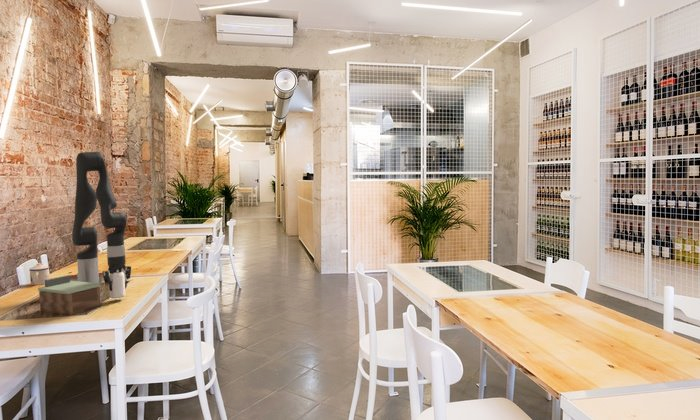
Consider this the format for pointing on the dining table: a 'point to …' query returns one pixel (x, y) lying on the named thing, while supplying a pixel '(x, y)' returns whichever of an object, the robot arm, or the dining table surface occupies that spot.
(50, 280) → the lid
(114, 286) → the can
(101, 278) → the hardcover book
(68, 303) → the chest
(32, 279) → the teacup with lid
